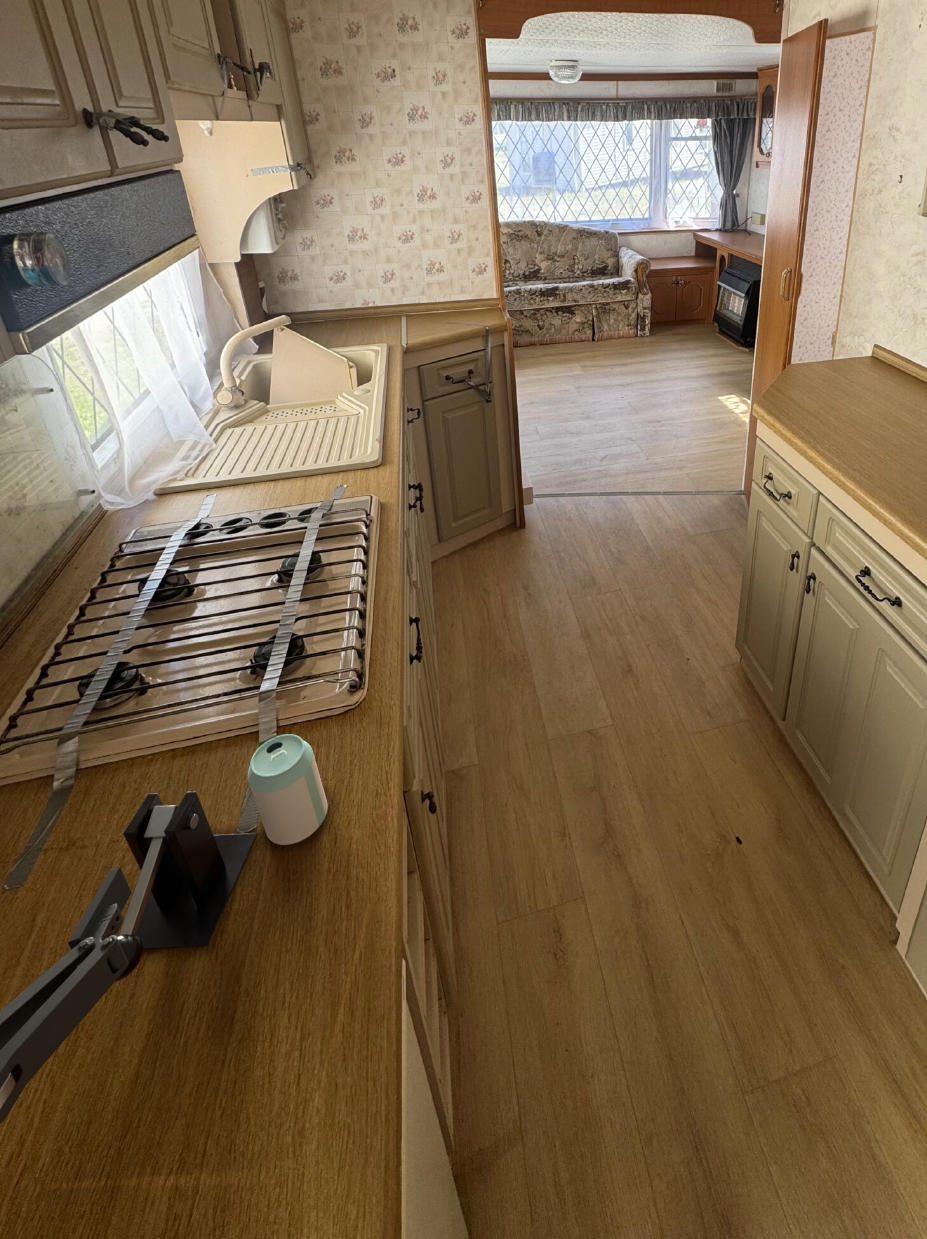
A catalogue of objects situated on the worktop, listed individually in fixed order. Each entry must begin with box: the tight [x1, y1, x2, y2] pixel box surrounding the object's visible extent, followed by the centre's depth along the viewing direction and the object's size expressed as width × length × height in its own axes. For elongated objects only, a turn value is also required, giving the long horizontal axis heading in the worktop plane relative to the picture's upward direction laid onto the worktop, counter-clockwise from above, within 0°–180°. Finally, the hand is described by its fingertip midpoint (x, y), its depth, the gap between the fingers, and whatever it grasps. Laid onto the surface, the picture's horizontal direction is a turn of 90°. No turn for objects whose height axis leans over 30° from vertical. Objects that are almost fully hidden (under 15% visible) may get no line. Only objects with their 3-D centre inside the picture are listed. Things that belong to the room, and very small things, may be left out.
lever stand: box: [122, 791, 259, 950], centre depth 71 cm, size 12×9×14 cm
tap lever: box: [114, 804, 179, 983], centre depth 65 cm, size 14×4×4 cm, turn 3°
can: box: [247, 733, 329, 846], centre depth 79 cm, size 7×7×12 cm
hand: (28, 913), depth 53 cm, fingers open, 13 cm apart
